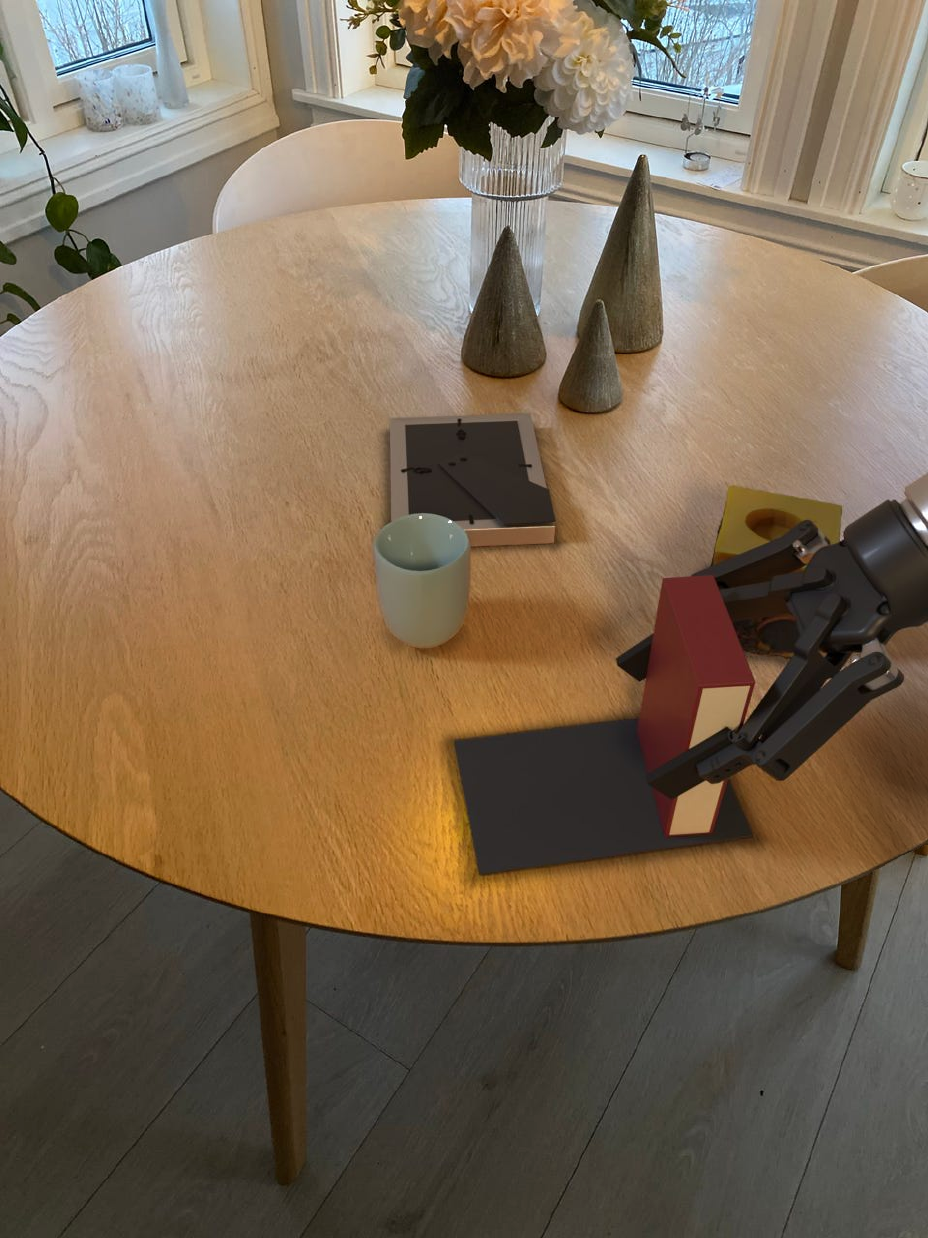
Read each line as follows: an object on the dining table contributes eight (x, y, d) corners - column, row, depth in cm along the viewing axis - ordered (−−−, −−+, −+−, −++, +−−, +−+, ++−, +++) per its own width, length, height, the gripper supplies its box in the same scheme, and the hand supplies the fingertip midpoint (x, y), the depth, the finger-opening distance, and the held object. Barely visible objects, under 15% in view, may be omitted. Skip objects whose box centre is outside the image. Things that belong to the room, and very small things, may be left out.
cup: (487, 629, 85) (489, 541, 78) (423, 675, 81) (419, 585, 74) (426, 588, 89) (423, 501, 82) (363, 630, 85) (353, 541, 78)
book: (636, 730, 76) (662, 577, 65) (680, 727, 76) (713, 574, 65) (664, 837, 69) (698, 686, 58) (712, 834, 69) (756, 682, 58)
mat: (697, 713, 78) (698, 710, 77) (753, 837, 69) (753, 835, 69) (453, 743, 75) (453, 740, 75) (479, 875, 67) (479, 873, 67)
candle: (811, 667, 81) (842, 578, 75) (691, 640, 84) (712, 551, 77) (819, 592, 88) (848, 504, 82) (708, 569, 91) (728, 482, 84)
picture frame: (553, 543, 94) (529, 428, 109) (555, 520, 92) (530, 406, 107) (392, 550, 93) (390, 433, 108) (391, 526, 91) (389, 411, 106)
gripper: (1054, 712, 52) (713, 885, 62) (890, 470, 68) (641, 638, 78) (996, 647, 48) (642, 843, 58) (837, 407, 64) (583, 592, 74)
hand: (642, 725), depth 68 cm, fingers closed on book, 10 cm apart
